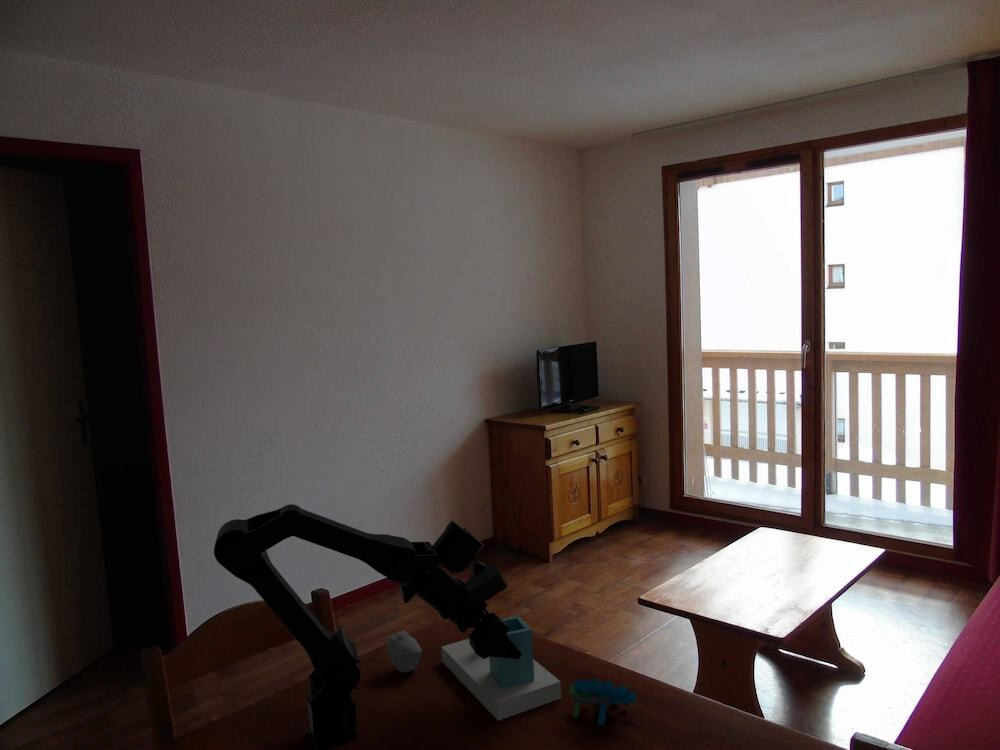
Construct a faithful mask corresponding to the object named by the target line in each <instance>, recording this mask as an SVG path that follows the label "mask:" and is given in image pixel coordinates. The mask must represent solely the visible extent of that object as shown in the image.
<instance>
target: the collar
mask: <svg viewBox="0 0 1000 750" xmlns="http://www.w3.org/2000/svg"><path fill="white" fill-rule="evenodd" d="M501 619H502V620H503V621H504V622H505V623H506V624H507V626H508V627H509V628H508V633H507V637H508V638H509V639H510V640H511V641H512V643H513V644H514V645H515V646H516V647H517V648H518V650H519V651H520V652H521V653H522V656H521V657H520V658H519V659H510V658H502V657H489V662H490V672H491V674H492V676H493V677H494V679H495V680H496V682H497V683H498V685H499V687H500V688H506V687H510V686H514V685H519V684H523V683H527V682H532V681H535V680H534V662H533V659H534V648H533V647H534V646H533V632H532V631H533V630H532V628H531V627H530V626H529V625H528V623H527V622H526V621H525V620H524V619H523V618H522V617H521V616H520V615H515V616H510V617H507V618H501Z"/></svg>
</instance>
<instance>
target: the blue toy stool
mask: <svg viewBox="0 0 1000 750" xmlns="http://www.w3.org/2000/svg"><path fill="white" fill-rule="evenodd" d="M568 687H569V688H568V695H570V696H572V702H574V710H573V716H572V717H573V718H575V719H577V718H579V715H580V714H579V711H580V705H581V704H582V705H583V704H584V705H594V706H595V705H596V706H599V713H598V721H597V725H598V726H600V727H601V726H602V727H604V726H605V723H606V714H607V707H608V706H609V705H610V704H611V705H615V706H619V705H620V704H622V705H624V706H629V705H630V704H636V703H637V701H636V700H637V695H636V694H637V693H636V692H635V691H633V690H628V687H627V686H625V685H618V687H615V686H614V682H613V681H608V680H606V681H605V682H604V683H602V682H601V681H599V680H598V679H596V678H594V679H593V678H592V679H590V680H589V681H588V680H586V679H583V678H581V679H579V682H578V681H574V685H573V684H572V685H571V684H569V686H568Z"/></svg>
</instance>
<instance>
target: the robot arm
mask: <svg viewBox="0 0 1000 750" xmlns="http://www.w3.org/2000/svg"><path fill="white" fill-rule="evenodd" d="M291 537H294V538H297V539H299V540H303V541H305V542H309V543H312V544H314V545H317V546H320V547H323V548H326V549H328V550H331V551H334V552H337V553H340V554H342V555H345V556H348V557H351V558H353V559H356V560H359V561H361V562H363V563H364V564H366V565H367V566H368V567H371V568H372V569H373V570H375V571H376V572H377V573H378V574H380V575H382V576H384V577H385V578H386V579H389V580H391V581H392V582H394V583H397V584H399V587H400V596H401V598H402V600H403V603H404V604H408V603H409V602H410V601H411V600H412V598H413V597H414V596H415V595H416V596H417V597H418V598H419V599H421V600H422V601H424V602H425V603H426V604H428V605H429V606H430V607H432V608H433V609H434V610H435V611H437V612H438V614H439V616H440V618H442V619H444V620H445V621H446V620H449V622H451V623H452V624H454V625H456V628H457V629H458V630H459V631H460V632H461V633H462V634H465V633H466V631H467V630H468V629H473V630H472V632H471V633H470V634H469V636H468V639H469V644H470V645H471V647H472V649H473V650H474V652H475V653H476V654H477V655H479V656H480V657H481V658H483V659H486V658H488V657H502V658H510V659H519V658H520V657H521V656H522V653H521V652H520V651H519V650H518V648H517V647H516V646H515V645H514V644H513V643H512V641H511V640H510V639H509V638H508V637H507V633H508V628H509V627H508V626H507V624H506V623H505V622H504V621H503V620H502V619H503V618H501V617H500V616H499V615H498V614H497V613H495V612H489V611H488V610H487V607H488V605H489V604H488V603H487V602H486V601H488V600H490V599H491V598H492V597H494V596H496V595H498V593H501V592H504V591H505V590H506V589H507V587H508V584H507V582H506V581H505V578H504V577H503V575H502V573H501V571H500V570H499V569H498V567H497V566H496V565H494V564H493V563H492V564H491V563H489V562H488V563H486V564H485V563H483V562H481V561H480V560H476V561H475V562H473V560H474V559H475V558H476V557H477V555H478V554H479V553H480V552H481V550H482V549H483V548H484V546H485V544H484V543H482V541H481V540H479V538H477V536H475V535H474V534H473V533H472V532H470V531H469V530H468V529H467V528H465V527H462V526H461V525H459V524H458V523H456V522H455V521H454V520H451V521H450V522H449V523H448V525H446V527H445V529H444V530H443V532H442V533H441V534H440V536H439V537H438V538H437V539H436V541H435V542H434V543H433V544H432V543H431V541H410V540H409V539H407V538H405V537H403V536H402V537H401V536H396V535H391V534H385V533H381V534H379V533H377V534H376V533H369V532H365V531H363V530H359V529H357V528H354V527H352V526H349V525H347V524H344V523H342V522H338V521H336V520H333V519H331V518H327V517H325V516H323V515H320V514H317V513H314V512H312V511H309V510H306V509H303V508H302V507H300V506H299V505H297V504H293V503H291V504H286V505H284V506H283V507H280V508H278V509H275V510H272V511H268V512H263V513H260V514H257V515H253V516H252V517H249V518H247V519H239V518H235V519H232V520H228V521H227V522H225V523H223V525H221V526H220V528H219V529H218V532H217V536H216V539H215V543H214V548H213V555H214V558H215V560H216V562H217V563H218V564H220V566H222V567H223V568H224V569H225V570H227V571H228V572H229V573H230V574H231V575H233V576H234V577H235V578H238V579H239V580H240V581H243V582H244V583H246V584H248V585H250V586H251V587H252V589H254V591H256V593H257V595H259V597H260V598H261V599H262V600H263V601H264V602H265V603H266V604H265V605H267V606H268V607H269V608H270V610H272V612H273V613H274V614H275V616H276V617H277V618H278V619H279V620H280V622H281V623H283V625H284V626H285V628H286V629H287V630H288V631H289V632H290V634H291V635H292V636H293V637H294V638H295V639H296V641H297V642H298V643H299V645H301V646H302V648H303V649H304V650H305V652H306V653H307V655H308V657H309V659H310V662H311V664H312V666H313V671H312V672H311V673H310V674H309V675H308V677H307V679H308V688H309V690H308V691H309V698H307V708H308V720H309V727H307V732H308V735H309V737H310V739H311V742H312V744H313V745H314V749H315V750H324V749H327V748H331V747H333V746H336V745H339V744H342V743H345V742H348V741H351V740H354V739H357V738H358V733H357V731H356V728H357V727H358V722H357V709H356V702H355V701H354V699H353V697H352V694H351V693H352V691H354V689H355V688H357V686H358V685H359V682H360V680H361V670H360V666H359V663H360V658H359V654H358V652H357V651H358V650H357V647H356V644H355V642H353V641H351V640H350V639H348V637H347V636H346V634H345V632H344V630H343V629H342V627H339V629H337V631H336V632H335V633H334V632H332V631H330V630H328V629H327V628H326V627H325V626H324V625H323V624H322V623H321V622H320V621H319V619H318V618H317V617H316V616H315V615H314V613H313V612H312V611H311V610H310V608H309V607H308V606H307V604H305V602H304V601H303V600H302V598H301V597H300V596H299V595H298V593H297V592H296V591H295V590H294V589H293V587H292V586H291V585H290V584H289V583H288V582H287V580H286V579H285V578H284V576H282V574H281V572H280V571H278V570H277V568H276V566H275V565H274V564H273V563H272V560H271V559H270V556H269V554H268V552H267V550H269V549H271V548H272V547H274V546H276V545H278V544H279V543H281V542H283V541H284V540H287V539H290V538H291ZM472 562H473V563H472ZM470 564H471V565H470ZM439 565H441V566H443V568H445V569H446V570H447V571H448V572H450V573H452V574H455V573H457V574H458V575H460V573H464V572H465V570H466V569H467V568H468V567H469V565H470V566H471V567H470V572H471V574H470V575H468V576H469V578H468V579H467V580H465V581H463V579H461V578H457V577H456V578H454V577H453V576H452V575H450V574H449V573H448V572H446V570H444V569H443V568H441V567H440V566H439Z"/></svg>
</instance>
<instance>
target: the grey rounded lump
mask: <svg viewBox="0 0 1000 750" xmlns="http://www.w3.org/2000/svg"><path fill="white" fill-rule="evenodd" d="M420 646H421V645H420V644H419V643H418V641H417V640H416V639H415V638H414V637H413V636H411V635H410V634H408V632H407V631H406V630H401V631H399V632H396V633H394V634H393V635H391V636H390V637H389V638H387V641H386V646H385V650H386V653H387V655H388V659H389V660H390V661H391V664H392V666H393V667H394V668H395V669H396V670H397V671H398V672H401V673H410V672H412V671H413V670H414V669H416V667H417V666H418V664H419V663H420V662H419V661H420V658H421V657H422V648H421V647H420Z"/></svg>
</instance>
